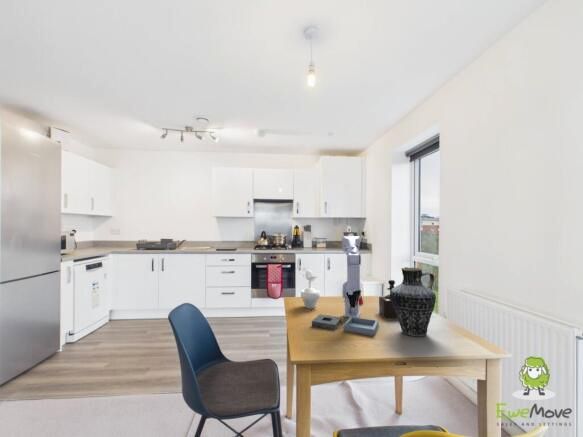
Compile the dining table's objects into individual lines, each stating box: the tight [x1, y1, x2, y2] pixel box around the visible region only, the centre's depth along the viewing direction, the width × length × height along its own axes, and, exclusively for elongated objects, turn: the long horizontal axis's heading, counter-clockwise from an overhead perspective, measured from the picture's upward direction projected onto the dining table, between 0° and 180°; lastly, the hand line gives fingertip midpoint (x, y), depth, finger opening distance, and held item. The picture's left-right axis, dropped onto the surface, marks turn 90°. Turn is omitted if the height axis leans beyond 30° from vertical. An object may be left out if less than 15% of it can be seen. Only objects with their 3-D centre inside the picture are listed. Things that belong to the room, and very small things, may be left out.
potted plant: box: [299, 268, 321, 309], centre depth 176 cm, size 13×12×25 cm
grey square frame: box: [311, 313, 343, 331], centre depth 147 cm, size 12×12×2 cm
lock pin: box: [349, 296, 358, 314], centre depth 142 cm, size 4×4×9 cm
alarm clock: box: [358, 295, 364, 306], centre depth 188 cm, size 10×6×15 cm
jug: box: [389, 266, 437, 337], centre depth 136 cm, size 21×19×30 cm
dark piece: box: [378, 279, 398, 319], centre depth 164 cm, size 16×11×18 cm
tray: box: [343, 316, 380, 337], centre depth 141 cm, size 14×14×3 cm
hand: (353, 306), depth 142 cm, fingers closed on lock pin, 4 cm apart
